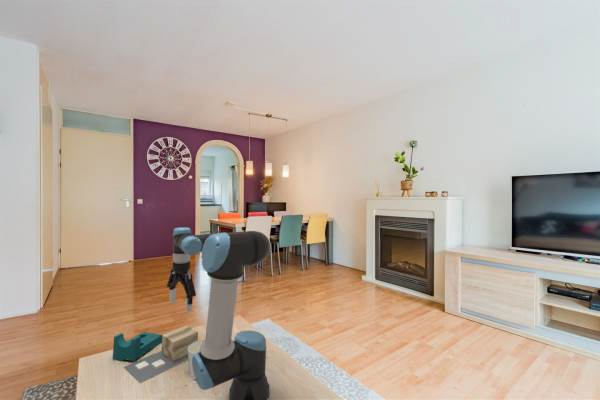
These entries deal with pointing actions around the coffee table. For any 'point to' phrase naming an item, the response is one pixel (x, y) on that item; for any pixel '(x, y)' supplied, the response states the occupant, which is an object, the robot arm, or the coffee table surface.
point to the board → (151, 371)
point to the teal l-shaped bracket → (134, 346)
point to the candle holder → (192, 350)
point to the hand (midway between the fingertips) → (180, 306)
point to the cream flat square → (158, 364)
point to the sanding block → (178, 343)
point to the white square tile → (142, 366)
